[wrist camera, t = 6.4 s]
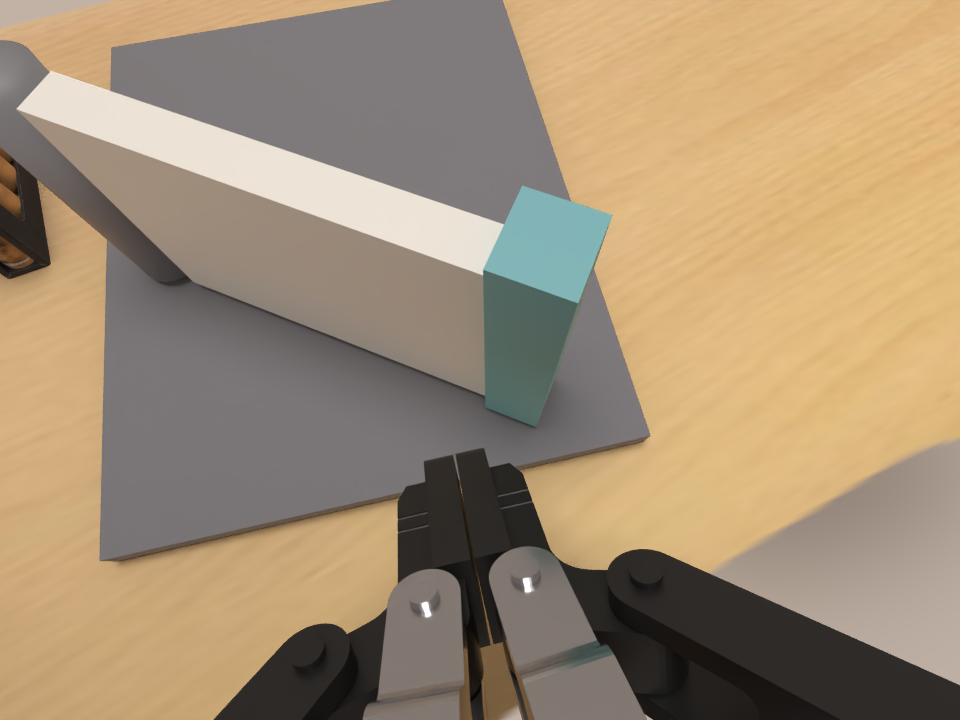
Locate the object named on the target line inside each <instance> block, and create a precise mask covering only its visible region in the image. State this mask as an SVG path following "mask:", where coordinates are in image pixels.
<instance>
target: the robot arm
mask: <svg viewBox="0 0 960 720" xmlns="http://www.w3.org/2000/svg"><path fill="white" fill-rule="evenodd" d="M455 455H456V461H457V466H458V472H459V478H460V483H461V488H460V483H459V479H458V474H457V470H456V466H455V461H454V457H453V455H448V456H444V457H439V458H435V459H430V460H426V461H424V472H425V482H423V483H419V484H414V485H410V486H406V488H405V489H404V491H403V493H402V495H401V497H400V499H399V500H398V584H397V586H396V587H395V588H394V589H393V591H392V593H391V595H390V597H389V600H388V606H387V608H386V610H384V611H383V612H382V613H381V614H380V615H379V616H378V617H376V618H375V619H374V620H372V621H370V622H369V623H367V624H365V625H363V626H361V627H360V628H358V629H356V630H354V631H352V632H350V633H348V634H346V632H345V631H344V630H343V629H342V628H340V627H339V626H336V625H333V624H317V625H313V626H310V627H307V628H305V629H303V630H301V631H299V632H297V633H296V634H294V635H293V636H292V637H290V638H289V639H288V640H287V641H286V642H285V643H284V644H283V645H282V646H281V647H280V648H279V649H278V650H277V651H276V653H275V654H274V655H273V656H272V657H271V658H270V659H269V660H268V661H267V662H266V663H265V664H264V666H263V667H262V668H261V669H260V670H259V671H258V672H257V673H256V674H255V675H254V676H253V677H252V679H251V680H250V681H249V682H248V683H247V684H246V685H245V686H244V687H243V688H242V689H241V690H240V692H239V693H238V694H237V695H236V696H235V697H234V698H233V699H232V700H231V701H230V702H229V703H228V705H227V706H226V707H225V708H224V709H223V710H222V711H221V712H220V713H219V714H218V715H217V717H216V718H215V719H214V720H487V710H486V697H485V686H484V681H483V672H484V671H483V662H482V656H481V650H480V648H481V647H485V646H489V645H490V640H489V634H488V629H487V623H486V618H485V612H484V607H483V601H482V596H481V591H482V595H483V600H484V604H485V608H486V613H487V617H488V621H489V626H490V630H491V635H492V639H493V643H494V644H496V643H500V642H503V647H504V651H505V656H506V660H507V665H508V669H509V674H510V678H511V683H512V686H513V689H514V693H515V696H516V700H517V703H518V706H519V710H520V713H521V716H522V720H647V719H646V717H645V715H647V716H648V717H650V718H651V719H653V720H960V685H958V684H956V683H953V682H951V681H949V680H947V679H944V678H942V677H940V676H938V675H935V674H933V673H931V672H929V671H927V670H924V669H922V668H920V667H918V666H915V665H913V664H911V663H908V662H906V661H904V660H902V659H900V658H897V657H895V656H893V655H891V654H888V653H886V652H884V651H882V650H879V649H877V648H875V647H873V646H870V645H868V644H866V643H864V642H861V641H859V640H857V639H855V638H852V637H850V636H848V635H846V634H844V633H841V632H839V631H836V630H834V629H832V628H830V627H828V626H825V625H823V624H821V623H819V622H816V621H814V620H812V619H810V618H807V617H805V616H803V615H801V614H798V613H796V612H794V611H792V610H790V609H787V608H785V607H783V606H781V605H778V604H776V603H774V602H772V601H769V600H767V599H765V598H763V597H760V596H758V595H756V594H754V593H751V592H749V591H747V590H745V589H743V588H740V587H738V586H735V585H734V584H731V583H729V582H727V581H724V580H722V579H720V578H718V577H716V576H713V575H711V574H709V573H707V572H704V571H702V570H700V569H698V568H695V567H693V566H691V565H689V564H686V563H684V562H682V561H680V560H677V559H675V558H673V557H671V556H668V555H666V554H664V553H661V552H658V551H654V550H648V549H638V550H632V551H628V552H625V553H623V554H621V555H619V556H618V557H616V558H615V559H614V560H613V561H612V563H611V564H610V566H609V568H608V570H587V569H580V568H575V567H572V566H569V565H567V564H565V563H563V562H562V561H560V560H559V559H558V558H557V557H556V556H555V555H554V554H553V553H552V551H551V550H550V547H549V545H548V542H547V540H546V537H545V534H544V531H543V529H542V526H541V523H540V520H539V518H538V515H537V512H536V509H535V507H534V504H533V502H532V498H531V495H530V493H529V491H528V487H527V484H526V482H525V479H524V476H523V473H521V472H520V471H519V470H518V469H516V468H515V467H514V466H513V465H512V464H510V463H507V464H502V465H498V466H493V467H489V464H488V460H487V457H486V453H485V449H484V448H479V449H475V450H470V451H466V452H461V453H457V454H455ZM461 489H462V492H461ZM462 494H463V497H462ZM463 500H464V501H463ZM477 573H478V574H477ZM478 578H479V579H478ZM479 582H480V585H479ZM480 586H481V590H480ZM644 714H645V715H644Z"/></svg>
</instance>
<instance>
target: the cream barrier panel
mask: <svg viewBox="0 0 960 720" xmlns="http://www.w3.org/2000/svg"><path fill="white" fill-rule="evenodd" d="M0 147H1V148H2V149H3V150H4V151H5V152H6V153H8V154H9V155H10V156H11V157H12V158H13V159H14V160H16V161H17V162H18V163H19V164H20V165H21V166H23V167H24V168H25V169H26V170H27V171H28V172H30V173H31V174H32V175H33V176H34V177H35V178H36V179H38V180H39V181H40V182H41V183H42V184H43V185H45V186H46V187H47V188H48V189H49V190H50V191H51V192H53V193H54V194H55V195H56V196H57V197H58V198H60V199H61V200H62V201H63V202H64V203H65V204H66V205H68V206H69V207H70V208H71V209H72V210H73V211H75V212H76V213H77V214H78V215H79V216H80V217H82V218H83V219H84V220H85V221H86V222H87V223H88V224H90V225H91V226H92V227H93V228H94V229H95V230H97V231H98V232H99V233H100V234H101V235H102V236H103V237H105V238H106V239H107V240H108V241H109V242H110V243H112V244H113V245H114V246H115V247H116V248H117V249H118V250H120V251H121V252H122V253H123V254H124V255H125V256H127V257H128V258H129V259H130V260H131V261H132V262H134V263H135V264H136V265H137V266H138V267H139V268H140V269H142V270H143V271H144V272H145V273H146V274H147V275H149V276H150V277H151V278H153V279H155V280H158V281H162V282H170V281H175V280H178V279H181V278H183V277H185V276H186V275H187V276H188V277H189V278H190V279H191V280H192V281H193V282H195V283H197V284H200V285H202V286H205V287H208V288H210V289H213V290H215V291H218V292H220V293H223V294H225V295H228V296H231V297H233V298H236V299H238V300H241V301H243V302H246V303H248V304H251V305H254V306H256V307H259V308H261V309H264V310H266V311H269V312H272V313H274V314H277V315H279V316H282V317H284V318H287V319H289V320H292V321H295V322H297V323H300V324H302V325H305V326H307V327H310V328H312V329H315V330H318V331H320V332H323V333H325V334H328V335H330V336H333V337H336V338H338V339H341V340H343V341H346V342H348V343H351V344H353V345H356V346H359V347H361V348H364V349H366V350H369V351H371V352H374V353H376V354H379V355H382V356H384V357H387V358H389V359H392V360H394V361H397V362H400V363H402V364H405V365H407V366H410V367H412V368H415V369H417V370H420V371H423V372H425V373H428V374H430V375H433V376H435V377H438V378H440V379H443V380H446V381H448V382H451V383H453V384H456V385H458V386H461V387H464V388H466V389H469V390H471V391H474V392H476V393H479V394H481V395H484V396H485V407H486V408H489V409H491V410H494V411H496V412H499V413H501V414H504V415H506V416H509V417H511V418H514V419H516V420H519V421H522V422H524V423H527V424H529V425H532V426H534V427H537V424H538V421H539V419H540V416H541V414H542V411H543V408H544V406H545V403H546V401H547V398H548V395H549V393H550V390H551V388H552V385H553V382H554V380H555V377H556V375H557V372H558V369H559V366H560V363H561V360H562V357H563V355H564V352H565V349H566V346H567V343H568V340H569V337H570V335H571V332H572V329H573V326H574V323H575V320H576V318H577V315H578V312H579V309H580V306H581V303H582V300H583V298H584V295H585V292H586V289H587V286H588V283H589V280H590V278H591V275H592V272H593V269H594V266H595V263H596V260H597V258H598V255H599V252H600V249H601V246H602V243H603V241H604V238H605V235H606V232H607V229H608V226H609V223H610V221H611V218H612V215H611V214H608V213H605V212H602V211H599V210H595V209H592V208H589V207H586V206H583V205H580V204H577V203H574V202H571V201H568V200H565V199H562V198H559V197H556V196H553V195H549V194H546V193H543V192H540V191H537V190H534V189H531V188H528V187H525V186H522V187H521V189H520V192H519V194H518V196H517V198H516V200H515V202H514V204H513V207H512V209H511V211H510V213H509V215H508V217H507V219H506V222H505V224H501V223H498V222H495V221H492V220H489V219H486V218H483V217H480V216H478V215H475V214H472V213H469V212H466V211H463V210H460V209H457V208H454V207H451V206H448V205H445V204H442V203H439V202H436V201H433V200H430V199H427V198H424V197H422V196H419V195H416V194H413V193H410V192H407V191H404V190H401V189H398V188H395V187H392V186H389V185H386V184H383V183H380V182H377V181H374V180H371V179H368V178H365V177H363V176H360V175H357V174H354V173H351V172H348V171H345V170H342V169H339V168H336V167H333V166H330V165H327V164H324V163H321V162H318V161H315V160H312V159H309V158H307V157H304V156H301V155H298V154H295V153H292V152H289V151H286V150H283V149H280V148H277V147H274V146H271V145H268V144H265V143H262V142H259V141H256V140H253V139H250V138H248V137H245V136H242V135H239V134H236V133H233V132H230V131H227V130H224V129H221V128H218V127H215V126H212V125H209V124H206V123H203V122H200V121H197V120H194V119H192V118H189V117H186V116H183V115H180V114H177V113H174V112H171V111H168V110H165V109H162V108H159V107H156V106H153V105H150V104H147V103H144V102H141V101H138V100H135V99H133V98H130V97H127V96H124V95H121V94H118V93H115V92H112V91H109V90H106V89H103V88H100V87H97V86H94V85H91V84H88V83H85V82H82V81H79V80H77V79H74V78H71V77H68V76H65V75H62V74H59V73H56V72H53V71H51V72H49V71H48V70H47V69H46V68H45V67H44V66H43V65H42V63H41V62H40V61H39V60H38V59H37V58H36V57H35V55H34V54H33V53H32V52H31V51H30V50H29V49H28V48H27V47H26V46H24V45H22V44H20V43H17V42H13V41H4V40H1V41H0Z"/></svg>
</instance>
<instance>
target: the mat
mask: <svg viewBox="0 0 960 720" xmlns="http://www.w3.org/2000/svg"><path fill="white" fill-rule="evenodd" d="M110 91H112V92H115V93H118V94H121V95H124V96H127V97H130V98H133V99H135V100H138V101H141V102H144V103H147V104H150V105H153V106H156V107H159V108H162V109H165V110H168V111H171V112H174V113H177V114H180V115H183V116H186V117H189V118H192V119H194V120H197V121H200V122H203V123H206V124H209V125H212V126H215V127H218V128H221V129H224V130H227V131H230V132H233V133H236V134H239V135H242V136H245V137H248V138H250V139H253V140H256V141H259V142H262V143H265V144H268V145H271V146H274V147H277V148H280V149H283V150H286V151H289V152H292V153H295V154H298V155H301V156H304V157H307V158H309V159H312V160H315V161H318V162H321V163H324V164H327V165H330V166H333V167H336V168H339V169H342V170H345V171H348V172H351V173H354V174H357V175H360V176H363V177H365V178H368V179H371V180H374V181H377V182H380V183H383V184H386V185H389V186H392V187H395V188H398V189H401V190H404V191H407V192H410V193H413V194H416V195H419V196H422V197H424V198H427V199H430V200H433V201H436V202H439V203H442V204H445V205H448V206H451V207H454V208H457V209H460V210H463V211H466V212H469V213H472V214H475V215H478V216H480V217H483V218H486V219H489V220H492V221H495V222H498V223H501V224H505V222H506V219H507V217H508V215H509V213H510V211H511V209H512V207H513V204H514V202H515V200H516V198H517V196H518V194H519V192H520V189H521V187H522V186H525V187H528V188H531V189H534V190H537V191H540V192H543V193H546V194H549V195H553V196H556V197H559V198H562V199H565V200H568V201H571V200H570V197H569V194H568V191H567V189H566V186H565V183H564V180H563V177H562V174H561V171H560V168H559V165H558V162H557V159H556V156H555V153H554V150H553V147H552V144H551V141H550V139H549V136H548V133H547V130H546V127H545V124H544V121H543V118H542V115H541V112H540V109H539V106H538V103H537V100H536V97H535V94H534V91H533V89H532V86H531V83H530V80H529V77H528V74H527V71H526V68H525V65H524V62H523V59H522V56H521V53H520V50H519V47H518V44H517V41H516V39H515V36H514V33H513V30H512V27H511V24H510V21H509V18H508V15H507V12H506V9H505V6H504V3H503V0H391V1H385V2H379V3H373V4H367V5H361V6H355V7H349V8H343V9H337V10H331V11H326V12H320V13H314V14H308V15H302V16H296V17H290V18H284V19H278V20H272V21H266V22H260V23H254V24H248V25H242V26H236V27H230V28H225V29H219V30H213V31H207V32H201V33H195V34H189V35H183V36H177V37H171V38H165V39H159V40H153V41H147V42H141V43H135V44H129V45H124V46H118V47H112V48H111V90H110ZM648 437H650V433H649V430H648V427H647V424H646V421H645V418H644V415H643V412H642V409H641V406H640V403H639V400H638V397H637V394H636V392H635V389H634V386H633V383H632V380H631V377H630V374H629V371H628V368H627V365H626V362H625V359H624V356H623V353H622V350H621V347H620V344H619V342H618V339H617V336H616V333H615V330H614V327H613V324H612V321H611V318H610V315H609V312H608V309H607V306H606V303H605V300H604V297H603V294H602V292H601V289H600V286H599V283H598V280H597V277H596V274H595V271H594V269H593V272H592V275H591V278H590V280H589V283H588V286H587V289H586V292H585V295H584V298H583V300H582V303H581V306H580V309H579V312H578V315H577V318H576V320H575V323H574V326H573V329H572V332H571V335H570V337H569V340H568V343H567V346H566V349H565V352H564V355H563V357H562V360H561V363H560V366H559V369H558V372H557V375H556V377H555V380H554V382H553V385H552V388H551V390H550V393H549V395H548V398H547V401H546V403H545V406H544V408H543V411H542V414H541V416H540V419H539V421H538V424H537V427H534V426H532V425H529V424H527V423H524V422H522V421H519V420H516V419H514V418H511V417H509V416H506V415H504V414H501V413H499V412H496V411H494V410H491V409H489V408H486V407H485V396H484V395H481V394H479V393H476V392H474V391H471V390H469V389H466V388H464V387H461V386H458V385H456V384H453V383H451V382H448V381H446V380H443V379H440V378H438V377H435V376H433V375H430V374H428V373H425V372H423V371H420V370H417V369H415V368H412V367H410V366H407V365H405V364H402V363H400V362H397V361H394V360H392V359H389V358H387V357H384V356H382V355H379V354H376V353H374V352H371V351H369V350H366V349H364V348H361V347H359V346H356V345H353V344H351V343H348V342H346V341H343V340H341V339H338V338H336V337H333V336H330V335H328V334H325V333H323V332H320V331H318V330H315V329H312V328H310V327H307V326H305V325H302V324H300V323H297V322H295V321H292V320H289V319H287V318H284V317H282V316H279V315H277V314H274V313H272V312H269V311H266V310H264V309H261V308H259V307H256V306H254V305H251V304H248V303H246V302H243V301H241V300H238V299H236V298H233V297H231V296H228V295H225V294H223V293H220V292H218V291H215V290H213V289H210V288H208V287H205V286H202V285H200V284H197V283H195V282H193V281H192V280H191V279H190V278H189V277H188V276H187V275H186V276H185V277H183V278H181V279H178V280H175V281H170V282H162V281H158V280H155V279H153V278H151V277H150V276H149V275H147V274H146V273H145V272H144V271H143V270H142V269H140V268H139V267H138V266H137V265H136V264H135V263H134V262H132V261H131V260H130V259H129V258H128V257H127V256H125V255H124V254H123V253H122V252H121V251H120V250H118V249H117V248H116V247H115V246H114V245H113V244H112V243H110V242H109V241H108V240H107V263H106V306H105V349H104V392H103V435H102V478H101V522H100V561H121V560H126V559H130V558H134V557H139V556H143V555H148V554H152V553H156V552H161V551H165V550H170V549H174V548H178V547H183V546H187V545H192V544H196V543H200V542H205V541H209V540H214V539H218V538H222V537H227V536H231V535H235V534H240V533H244V532H249V531H253V530H257V529H262V528H266V527H271V526H275V525H279V524H284V523H288V522H293V521H297V520H301V519H306V518H310V517H314V516H319V515H323V514H328V513H332V512H336V511H341V510H345V509H350V508H354V507H358V506H363V505H367V504H372V503H376V502H380V501H385V500H389V499H394V498H398V497H401V495H402V493H403V491H404V489H405V488H406V486H410V485H414V484H419V483H423V482H425V472H424V461H426V460H430V459H435V458H439V457H444V456H448V455H453V457H454V461H455V466H456V470H457V474H458V479H459V483H460V478H459V472H458V466H457V461H456V455H455V454H457V453H461V452H466V451H470V450H475V449H479V448H484V449H485V453H486V457H487V460H488V464H489V467H493V466H498V465H502V464H507V463H510V464H512V465H513V466H514V467H515V468H516V469H518V470H521V469H525V468H530V467H534V466H538V465H543V464H547V463H552V462H556V461H560V460H565V459H569V458H574V457H578V456H582V455H587V454H591V453H595V452H600V451H604V450H609V449H613V448H617V447H622V446H626V445H631V444H635V443H639V442H644V441H645V440H646V439H647V438H648Z"/></svg>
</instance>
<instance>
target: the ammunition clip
mask: <svg viewBox="0 0 960 720" xmlns="http://www.w3.org/2000/svg"><path fill="white" fill-rule="evenodd" d="M48 264H51V262H50V256H49V250H48V244H47V238H46V232H45V226H44V220H43V214H42V208H41V202H40V195H39V189H38V183H37V179H36V178H35V177H34V176H33V175H32V174H31V173H30V172H28V171H27V170H26V169H25V168H24V167H23V166H21V165H20V164H19V163H18V162H17V161H16V160H14V159H13V158H12V157H11V156H10V155H9V154H8V153H6V152H5V151H4V150H3V149H2V148H1V147H0V273H1V274H2V275H4V276H5V277H7V278H11V277H14V276H17V275H20V274H23V273H26V272H29V271H32V270H35V269H38V268H41V267H44V266H46V265H48Z"/></svg>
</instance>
